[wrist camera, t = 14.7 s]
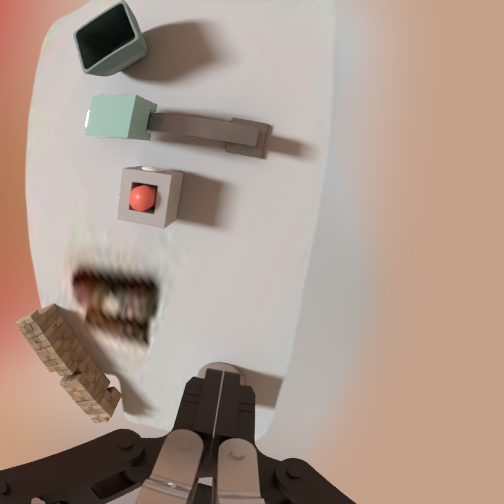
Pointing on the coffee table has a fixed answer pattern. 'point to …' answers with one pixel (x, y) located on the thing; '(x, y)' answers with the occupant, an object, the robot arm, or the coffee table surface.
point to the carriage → (119, 116)
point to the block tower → (70, 362)
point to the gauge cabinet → (165, 199)
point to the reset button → (143, 197)
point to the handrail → (213, 131)
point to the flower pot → (110, 41)
